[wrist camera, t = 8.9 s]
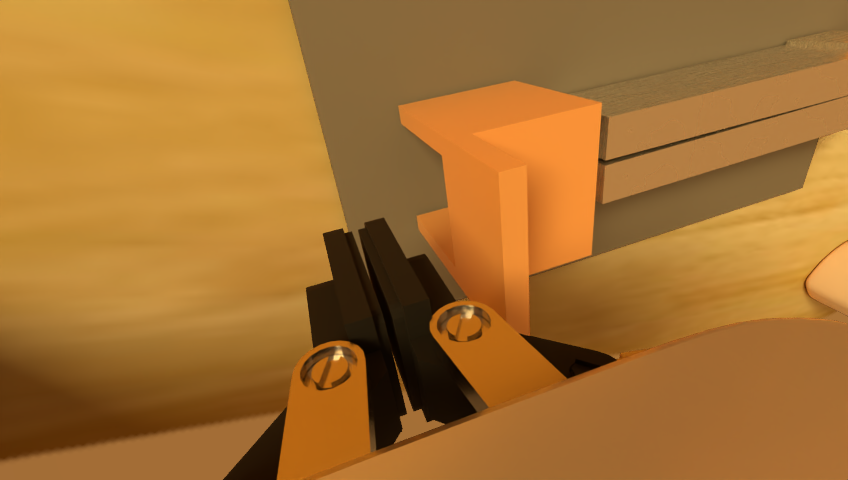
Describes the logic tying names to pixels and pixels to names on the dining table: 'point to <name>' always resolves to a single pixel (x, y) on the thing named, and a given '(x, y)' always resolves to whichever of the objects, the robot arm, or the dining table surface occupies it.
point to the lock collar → (510, 187)
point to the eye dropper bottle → (831, 280)
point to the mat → (536, 65)
